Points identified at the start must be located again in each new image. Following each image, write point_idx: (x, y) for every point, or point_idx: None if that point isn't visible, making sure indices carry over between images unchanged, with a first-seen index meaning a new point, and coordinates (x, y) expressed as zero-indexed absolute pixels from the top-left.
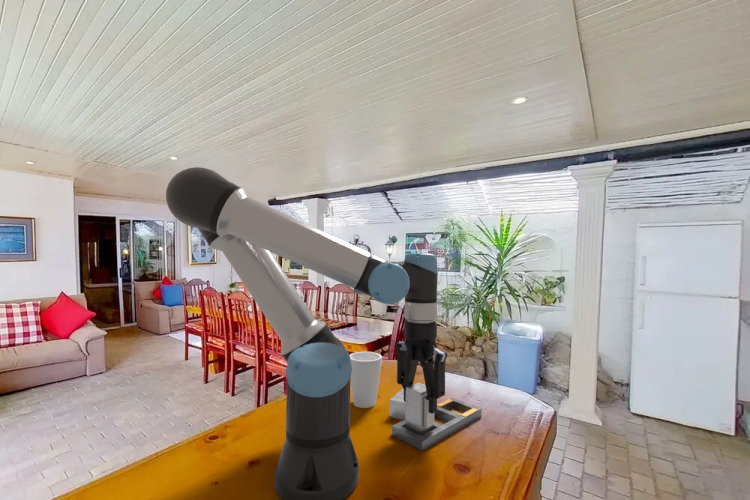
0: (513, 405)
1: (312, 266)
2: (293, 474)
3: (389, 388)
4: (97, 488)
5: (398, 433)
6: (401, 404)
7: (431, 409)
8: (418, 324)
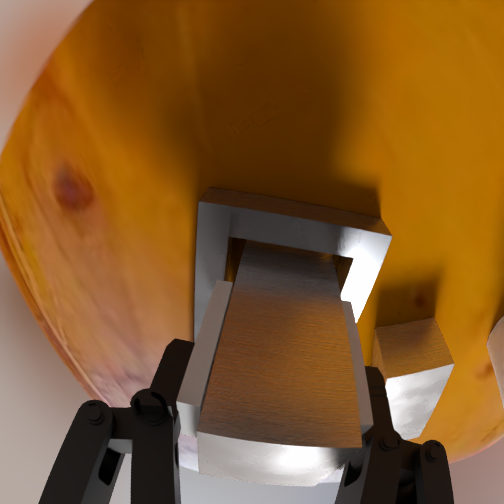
0: (184, 451)
1: None
2: None
3: (461, 409)
4: None
5: (347, 219)
6: (404, 367)
7: (174, 355)
8: None
